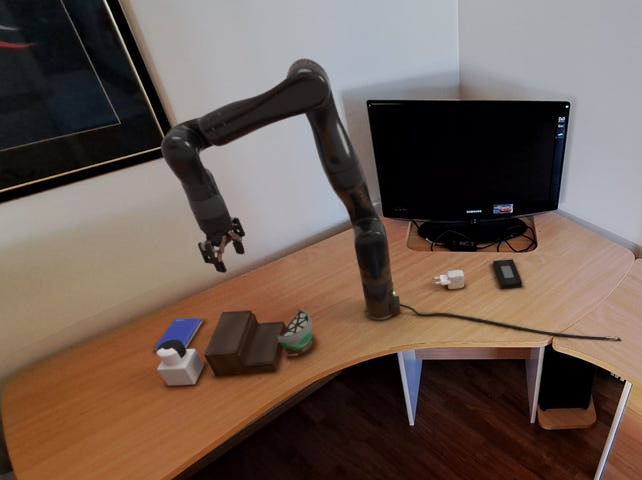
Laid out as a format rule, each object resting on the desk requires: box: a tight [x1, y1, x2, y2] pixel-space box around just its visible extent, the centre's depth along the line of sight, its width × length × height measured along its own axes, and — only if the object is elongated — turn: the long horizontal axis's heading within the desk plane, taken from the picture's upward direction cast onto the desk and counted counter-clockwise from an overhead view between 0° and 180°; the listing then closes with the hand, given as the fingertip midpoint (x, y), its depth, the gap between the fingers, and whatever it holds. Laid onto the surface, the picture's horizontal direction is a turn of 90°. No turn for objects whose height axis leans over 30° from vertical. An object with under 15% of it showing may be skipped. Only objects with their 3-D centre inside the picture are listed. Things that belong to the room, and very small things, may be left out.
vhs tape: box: [492, 258, 523, 290], centre depth 162 cm, size 8×14×2 cm, turn 11°
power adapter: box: [431, 269, 465, 290], centre depth 155 cm, size 11×5×6 cm, turn 102°
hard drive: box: [153, 318, 204, 352], centre depth 134 cm, size 2×8×12 cm
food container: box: [278, 308, 314, 359], centre depth 130 cm, size 12×6×10 cm, turn 168°
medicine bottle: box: [155, 340, 205, 387], centre depth 120 cm, size 7×7×12 cm
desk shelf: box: [203, 309, 287, 378], centre depth 128 cm, size 16×17×9 cm
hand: (232, 262), depth 121 cm, fingers open, 8 cm apart
